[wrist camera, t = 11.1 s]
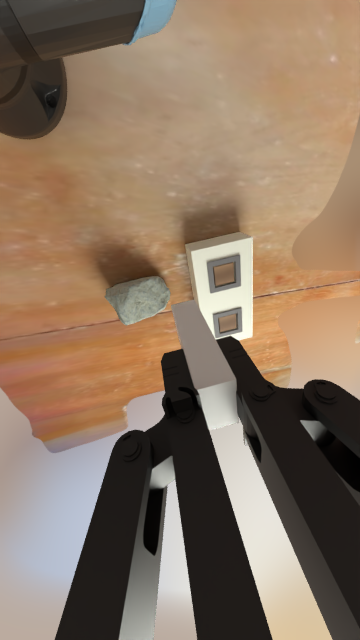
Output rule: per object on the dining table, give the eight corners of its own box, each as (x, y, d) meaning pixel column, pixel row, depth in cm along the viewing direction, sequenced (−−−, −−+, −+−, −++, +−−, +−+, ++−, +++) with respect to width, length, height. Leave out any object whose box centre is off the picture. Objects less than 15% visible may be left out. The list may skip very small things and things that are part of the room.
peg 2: (211, 305, 54) (218, 318, 49) (226, 302, 54) (235, 313, 49) (212, 319, 56) (220, 332, 51) (227, 315, 56) (236, 327, 51)
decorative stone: (102, 310, 50) (125, 340, 45) (93, 273, 41) (120, 306, 37) (149, 289, 56) (173, 314, 52) (150, 253, 47) (179, 279, 43)
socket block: (184, 244, 45) (191, 252, 40) (239, 231, 46) (253, 237, 40) (199, 334, 58) (206, 349, 53) (242, 323, 59) (253, 337, 53)
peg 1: (205, 258, 47) (213, 267, 42) (223, 254, 48) (233, 262, 43) (207, 275, 50) (215, 285, 45) (224, 271, 50) (234, 281, 45)
